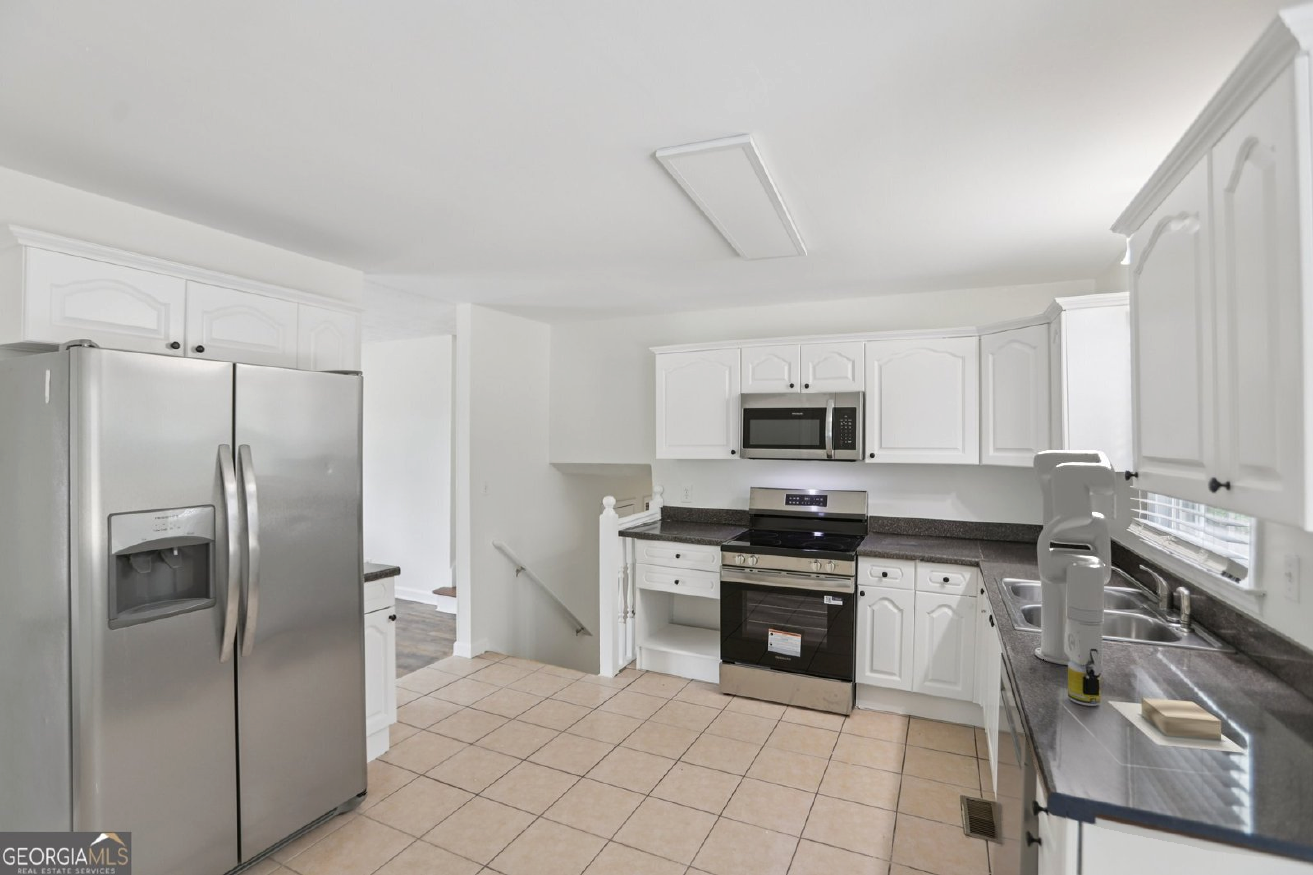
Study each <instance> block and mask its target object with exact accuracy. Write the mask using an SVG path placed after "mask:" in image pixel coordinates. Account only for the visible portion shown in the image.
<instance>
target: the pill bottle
mask: <svg viewBox="0 0 1313 875" xmlns="http://www.w3.org/2000/svg"><path fill="white" fill-rule="evenodd" d="M1087 664H1092V662H1087ZM1092 665H1093V664H1092ZM1092 669H1093V668H1091V667H1088V672H1089V671H1090V670H1092ZM1101 675H1102V673H1101V674H1100V680H1099V695H1098V696H1095V695H1085V694H1084V693H1083V677H1085V675H1084V669H1083V665H1082V666H1080V665H1078V664H1077V663H1076V662H1075V661H1074V660H1071V661H1070V662H1069V664H1068V665H1067V697H1068V698H1069V700H1070V701H1072V702H1074V703H1076V704H1079V705H1083V706H1089V707H1093V706H1094V707H1095V706H1098V705H1100V704H1101V690H1102V688H1101V686H1102V685H1101V680H1102V676H1101Z"/></svg>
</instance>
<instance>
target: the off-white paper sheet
mask: <svg viewBox="0 0 1313 875" xmlns="http://www.w3.org/2000/svg"><path fill="white" fill-rule="evenodd" d="M1107 703H1109V704H1110V705H1112V706H1113V708H1114V709H1116V710H1117V711H1118V712H1119V713H1121V715H1123V716H1124V717H1125V718H1126V719H1127V720H1129V721H1130V723H1132V724H1133V725H1134V726H1135V727H1137V728H1138V729H1139V730H1140V731H1141V732H1142V733H1144V735H1146V736H1147V737H1148V738H1149V739H1150V740H1152V741H1153V742H1154V743H1155V744H1156V745H1157V746H1158V745H1159V746H1171V747H1181V748H1191V749H1198V750H1199V749H1202V750H1210V751H1212V750H1213V751H1221V752H1222V751H1223V752H1234V753H1245V754H1249V752H1248V751H1247V750H1246V749H1244V748H1243V747H1241V746H1240V745H1239V744H1236V743H1235V742H1234V741H1233V740H1232V739H1229V738H1228V737H1227V736H1225V735H1224V734H1222V733H1221V740H1213V739H1202V738H1191V737H1180V736H1169V735H1165V734H1164V733H1163V732H1162V731H1160V730H1159V729H1158V728H1157V727H1156V726H1154V725H1153V724H1152V723H1151V722H1149V721H1148V720H1147V719H1146V718H1145V717H1143V716H1142V703H1138V702H1136V703H1135V702H1124V701H1123V702H1122V701H1113V700H1107Z"/></svg>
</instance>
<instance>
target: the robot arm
mask: <svg viewBox="0 0 1313 875" xmlns="http://www.w3.org/2000/svg"><path fill="white" fill-rule="evenodd" d="M1032 465H1033V472H1034V475H1035V478H1036V480H1037V484H1038V486H1039V488H1040V491H1041V497H1042V522H1043V523H1042V524H1043V525H1042V526H1043V527H1042V528H1043V529H1042V530H1041V531H1040V534H1039V536H1038V538H1037V544H1036V545H1037V546H1036V552H1037V566H1038V573H1039V578H1040V589H1041V590H1040V592H1041V596H1040V597H1041V598H1040V602H1041V605H1040V606H1041V609H1040V610H1041V614H1040V615H1041V619H1040V620H1041V624H1040V625H1041V626H1040V629H1041V636H1040V637H1041V639H1040V642H1041V644H1040V645H1041V646H1040V647H1037V648H1035V650H1034V654H1035V656H1036V657H1037V658H1039V659H1041V660H1043V659H1044V660H1043V661H1046V662H1049V663H1053V664H1058V665H1063V666H1065V665H1066V666H1068V664H1069V662H1070V661H1071V660H1074V661H1075V662H1076V663H1077V664H1078V665H1080V666H1082V665H1083V669H1084V675H1085V677H1083V693H1084V694H1085V695H1095V696H1098V695H1099V680H1100V674H1101V675H1102V672H1103V667H1102V666H1103V659H1104V645H1103V643H1104V642H1103V630H1102V625H1104V624H1105V585H1106V584H1108V583H1109V581H1110V580H1111V576H1112V548H1111V528H1110V523H1109V521H1108V518H1107V517H1106V515H1104V514H1103V513H1101V512H1097V511H1093V506H1092V500H1091V498H1092V497H1091V495H1092V496H1093V495H1094V496H1095V495H1096V496H1110V495H1113V494H1114V493H1115V491H1116V489H1117V486H1118V484H1117V483H1118V482H1117V480H1118V478H1117V474H1116V471H1115V468H1114V466H1113V464H1112V463H1111V461H1110V460H1109V458H1108V456H1107V455H1106V454H1105V452H1102V451H1097V450H1067V449H1066V450H1065V449H1064V450H1063V449H1062V450H1061V449H1059V450H1052V449H1051V450H1044V451H1041V452H1038V453H1036V454H1035V455H1034V457H1033V462H1032ZM1051 542H1052V543H1055V544H1065V545H1066V544H1067V545H1076V546H1077V545H1079V546H1087V547H1089V548H1090V549H1075V548H1063V547H1051ZM1087 662H1092V664H1093V665H1092V664H1087ZM1088 667H1091V668H1093V669H1092V670H1090V671H1089V672H1088Z"/></svg>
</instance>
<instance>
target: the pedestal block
mask: <svg viewBox="0 0 1313 875" xmlns="http://www.w3.org/2000/svg"><path fill="white" fill-rule="evenodd" d="M1141 704H1142V716H1143V717H1145V718H1146V719H1147V720H1148V721H1149V722H1151V723H1152V724H1153V725H1154V726H1156V727H1157V728H1158V729H1159V730H1160V731H1162V732H1163V733H1164V734H1165V735H1169V736H1180V737H1191V738H1202V739H1213V740H1221V734H1222V720H1220V719H1219V718H1217V717H1216V716H1214V715H1213V714H1211V713H1210V712H1208V711H1207V710H1206V709H1204V708H1202V707H1201V706H1200V705H1198V704H1197V703H1195V702H1193V701H1188V700H1179V699H1178V700H1177V699H1166V698H1164V699H1162V698H1154V697H1153V698H1151V697H1141Z"/></svg>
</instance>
